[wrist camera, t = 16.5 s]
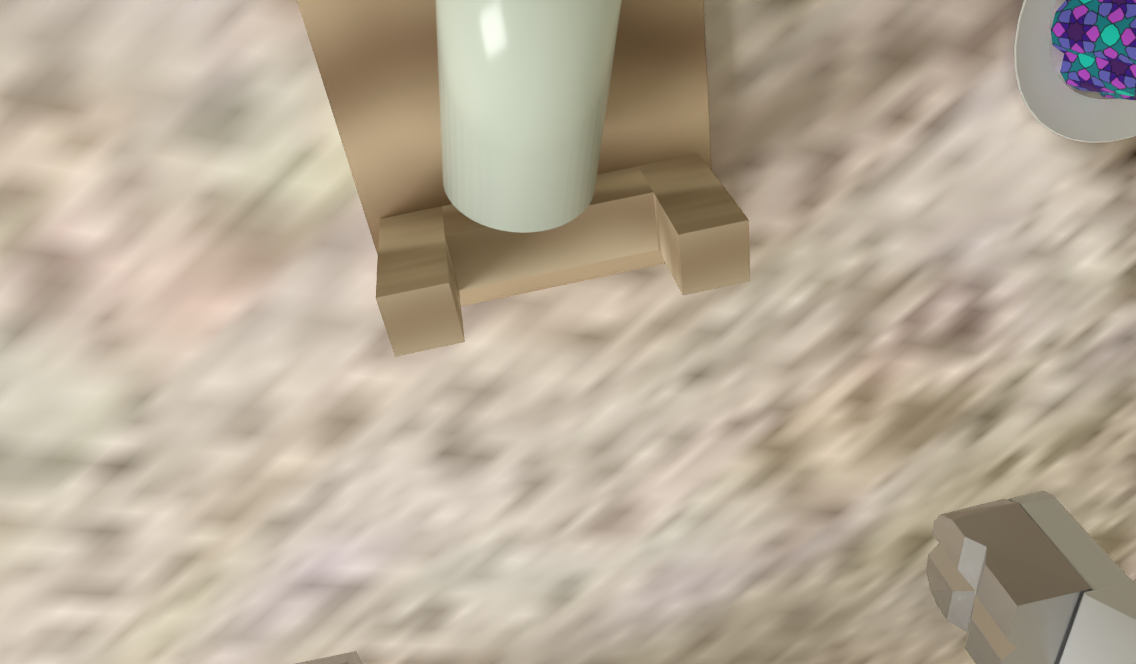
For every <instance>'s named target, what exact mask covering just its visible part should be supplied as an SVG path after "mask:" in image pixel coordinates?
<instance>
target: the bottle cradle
mask: <svg viewBox="0 0 1136 664" xmlns="http://www.w3.org/2000/svg"><path fill="white" fill-rule="evenodd" d="M297 1H298V5H299V8H300V11H301V14H302V17H303V20H304V24H305V27H306V30H307V33H308V36H309V39H310V42H311V46H312V49H313V52H314V55H315V58H316V61H317V65H318V68H319V71H320V74H321V77H322V80H323V84H324V87H325V90H326V93H327V96H328V99H329V103H330V106H331V109H332V112H333V115H334V118H335V121H336V125H337V128H338V131H339V134H340V137H341V140H342V144H343V147H344V150H345V153H346V156H347V159H348V163H349V166H350V169H351V172H352V175H353V178H354V182H355V185H356V188H357V191H358V194H359V197H360V200H361V204H362V207H363V210H364V213H365V216H366V219H367V223H368V226H369V229H370V232H371V235H372V238H373V242H374V245H375V248H376V251H377V254H378V264H377V285H376V300H377V303H378V306H379V309H380V312H381V315H382V318H383V321H384V324H385V327H386V330H387V333H388V336H389V339H390V343H391V346H392V349H393V352H394V355H395V357H396V356H401V355H405V354H410V353H415V352H419V351H424V350H429V349H434V348H438V347H443V346H448V345H452V344H457V343H462V342H465V340H464V331H463V322H462V313H461V306H465V305H470V304H475V303H479V302H484V301H489V300H494V299H498V298H503V297H508V296H513V295H517V294H522V293H527V292H532V291H536V290H541V289H546V288H551V287H555V286H560V285H565V284H570V283H574V282H579V281H584V280H589V279H593V278H598V277H603V276H608V275H612V274H617V273H622V272H627V271H631V270H636V269H641V268H646V267H650V266H655V265H660V264H665V263H666V264H667V266H668V268H669V270H670V272H671V274H672V275H673V277H674V279H675V281H676V283H677V285H678V287H679V289H680V291H681V292H682V294H683V295H687V294H692V293H697V292H701V291H706V290H711V289H715V288H720V287H725V286H729V285H734V284H739V283H744V282H748V281H750V255H749V220H748V218H747V217H746V216H745V214H744V213H743V212H742V210H741V209H740V208H739V207H738V205H737V204H736V203H735V201H734V200H733V199H732V197H731V196H730V195H729V193H728V192H727V191H726V189H725V188H724V187H723V185H722V184H721V183H720V181H719V180H718V179H717V178H716V176H715V175H714V174H713V172H712V171H711V150H710V129H709V108H708V87H707V67H706V46H705V25H704V4H703V0H622V1H621V8H620V15H619V23H618V30H617V37H616V44H615V51H614V58H613V65H612V72H611V79H610V86H609V93H608V100H607V108H606V115H605V122H604V129H603V136H602V143H601V150H600V157H599V164H598V171H597V178H596V185H595V192H594V196H593V198H592V201H591V202H590V204H589V206H588V207H587V208H586V209H585V211H584V212H583V213H581V214H580V215H579V216H578V217H577V218H575V219H573V220H572V221H570V222H568V223H566V224H564V225H562V226H559V227H556V228H553V229H549V230H545V231H539V232H526V233H520V232H508V231H502V230H497V229H493V228H490V227H487V226H484V225H482V224H479V223H477V222H475V221H473V220H471V219H470V218H468V217H466V216H465V215H464V214H462V213H461V212H460V211H459V210H458V209H457V208H456V207H455V206H454V205H453V204H452V203H451V201H450V200H449V198H448V197H447V195H446V192H445V189H444V186H443V171H442V147H441V122H440V98H439V73H438V49H437V24H436V0H297Z"/></svg>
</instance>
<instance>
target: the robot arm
mask: <svg viewBox="0 0 1136 664" xmlns="http://www.w3.org/2000/svg"><path fill="white" fill-rule="evenodd" d="M932 534H933V535H934V536H935V538H936V539H937V541H938V542H939V544H938V545H937V546H936V547H935V548H934V549H933V550H932V551H931V552H930V553H929V555H928V562H927V576H928V580H929V585H930V590H931V592H932V594H933V596H934V598H935V601H936V603H937V605H938V607H939V608H940V610H941V611H942V613H943V614H944V616H945V618H946V619H947V620H948V621H949V622H951V623H953V624H955V625H956V626H958V627H960V628H962V629H963V630H965V631H967V634H966V645H965V648H966V650H967V651H968V653H969V654H970V656H971V657H972V659H973V660H974V662H975V663H976V664H1136V580H1131V579H1130V578H1129V577H1128V576H1127V575H1126V574H1125V573H1124V571H1123V570H1122V569H1121V568H1120V567H1119V566H1118V565H1117V564H1116V563H1115V562H1114V561H1113V560H1112V559H1111V557H1110V556H1109V555H1108V554H1107V553H1106V552H1105V551H1104V550H1103V549H1102V548H1101V547H1100V546H1099V545H1098V543H1097V542H1096V541H1095V540H1094V539H1093V538H1092V537H1091V536H1090V535H1089V534H1088V533H1087V532H1086V531H1085V529H1084V528H1083V527H1082V526H1081V525H1080V524H1079V523H1078V522H1077V521H1076V520H1075V519H1074V518H1073V517H1072V515H1071V514H1070V513H1069V512H1068V511H1067V510H1066V509H1065V508H1064V507H1063V506H1062V505H1061V504H1060V503H1059V501H1058V500H1057V499H1056V498H1055V497H1054V496H1053V495H1051V494H1049V493H1047V492H1045V491H1040V492H1035V493H1030V494H1026V495H1022V496H1018V497H1014V498H1010V499H1007V500H1006V499H1001V500H997V501H993V502H989V503H985V504H981V505H977V506H973V507H969V508H965V509H961V510H957V511H953V512H949V513H945V514H941V515H940V516H939V517H938V518H937V519H936V520H935V522H934V527H933V532H932ZM296 664H363V663H362V661H361V659H360V657H359V656H358V654H357V652H356V651H354V652H349V653H344V654H339V655H335V656H330V657H325V658H320V659H315V660H311V661H306V662H301V663H296Z"/></svg>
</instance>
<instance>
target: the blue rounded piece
mask: <svg viewBox="0 0 1136 664" xmlns="http://www.w3.org/2000/svg"><path fill="white" fill-rule="evenodd" d="M1055 3H1056V0H1024V2H1023V5H1022V9H1021V12H1020V15H1019V18H1018V23H1017V30H1016V37H1015V43H1014V69H1015V74H1016V79H1017V84H1018V88H1019V92H1020V94H1021V96H1022V98H1023V100H1024V102H1025V105H1026V107H1027V109H1028V110H1029V111H1030V112H1031V113H1032V115H1033V116H1034V117H1035V118H1036V120H1037V121H1038V122H1039V123H1040V124H1042V125H1043V126H1044V127H1046V128H1047V129H1048V130H1050V131H1051V132H1053V133H1054V134H1057V135H1059V136H1062V137H1064V138H1067V139H1069V140H1074V141H1081V142H1087V143H1098V142H1112V141H1117V140H1121V139H1126V138H1131V137H1134V136H1136V0H1066V1H1065V2H1064V3H1063V4H1062V5H1061V7H1060V8H1059V9H1058V10H1057V11H1056V13H1055V17H1054V21H1053V24H1052V28H1051V34H1052V43H1053V46H1055V47H1056V48H1058V49H1059V50H1060V51H1062V52H1063V53H1065V54H1064V58H1063V63H1062V67H1061V74H1062V76H1063V78H1064V80H1065V82H1066V84H1068V85H1070V86H1072V87H1074V88H1076V89H1078V90H1086V91H1094V92H1100V94H1101V95H1102V97H1110V98H1117V99H1095V98H1088V97H1085V96H1083V95H1081V94H1078V93H1076V92H1074V91H1073V90H1072V89H1070V88H1069V87H1068V86H1066V85H1065V84H1064V82H1063V81H1062V80H1061V78H1060V77H1059V76H1058V75H1057V72H1056V70H1055V68H1054V65H1053V63H1052V59H1051V54H1050V49H1049V29H1050V23H1051V17H1052V12H1053V9H1054V6H1055Z"/></svg>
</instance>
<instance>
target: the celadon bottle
mask: <svg viewBox="0 0 1136 664" xmlns="http://www.w3.org/2000/svg"><path fill="white" fill-rule="evenodd" d="M621 1H622V0H436V24H437V49H438V73H439V98H440V122H441V147H442V171H443V186H444V189H445V192H446V195H447V197H448V198H449V200H450V201H451V203H452V204H453V205H454V206H455V207H456V208H457V209H458V210H459V211H460V212H461V213H462V214H464V215H465V216H466V217H468V218H470V219H471V220H473V221H475V222H477V223H479V224H482V225H484V226H487V227H490V228H493V229H497V230H502V231H508V232H520V233H526V232H539V231H545V230H549V229H553V228H556V227H559V226H562V225H564V224H566V223H568V222H570V221H572V220H573V219H575V218H577V217H578V216H579V215H580V214H581V213H583V212H584V211H585V209H586V208H587V207H588V206H589V204H590V202H591V201H592V198H593V196H594V192H595V185H596V178H597V171H598V164H599V157H600V150H601V143H602V136H603V129H604V122H605V115H606V108H607V100H608V93H609V86H610V79H611V72H612V65H613V58H614V51H615V44H616V37H617V30H618V23H619V15H620V8H621Z"/></svg>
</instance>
